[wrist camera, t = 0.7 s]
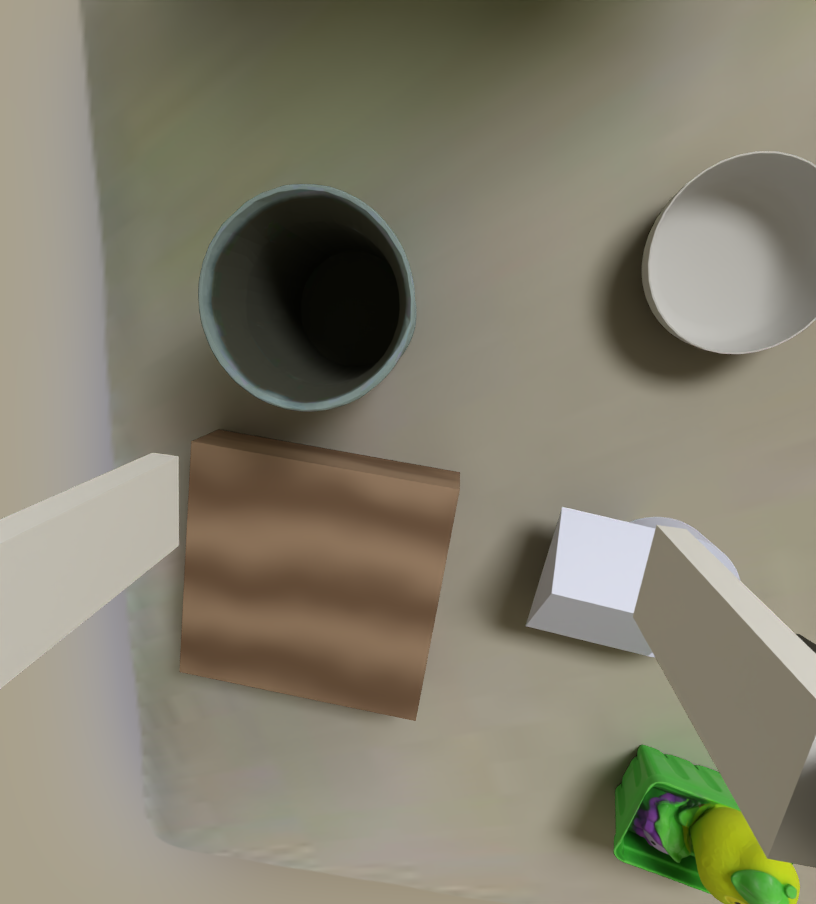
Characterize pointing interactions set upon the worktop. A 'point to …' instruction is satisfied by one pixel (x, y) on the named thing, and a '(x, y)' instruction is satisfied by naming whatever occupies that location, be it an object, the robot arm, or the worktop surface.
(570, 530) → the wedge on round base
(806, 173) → the small pan
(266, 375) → the grey cup
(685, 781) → the fruit basket
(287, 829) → the worktop surface
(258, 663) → the walnut stand
